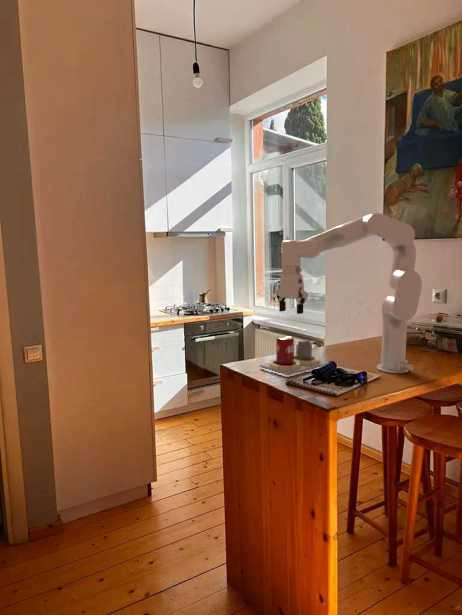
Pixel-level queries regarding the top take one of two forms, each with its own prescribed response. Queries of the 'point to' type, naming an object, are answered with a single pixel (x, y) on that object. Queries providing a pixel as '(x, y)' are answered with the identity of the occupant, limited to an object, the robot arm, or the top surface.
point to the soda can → (285, 351)
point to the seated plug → (304, 351)
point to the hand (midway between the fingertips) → (291, 312)
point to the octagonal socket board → (294, 366)
